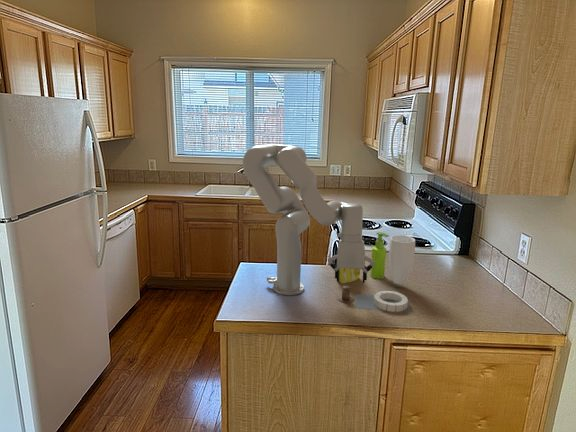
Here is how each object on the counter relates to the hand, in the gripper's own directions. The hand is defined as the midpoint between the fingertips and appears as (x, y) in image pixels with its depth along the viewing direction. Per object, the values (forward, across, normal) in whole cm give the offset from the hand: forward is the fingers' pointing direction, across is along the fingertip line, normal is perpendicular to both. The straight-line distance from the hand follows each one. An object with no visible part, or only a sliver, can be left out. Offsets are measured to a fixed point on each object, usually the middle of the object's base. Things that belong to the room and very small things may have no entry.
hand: (350, 280), depth 150 cm
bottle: (+9, -2, +19) cm, 21 cm away
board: (+9, +12, 0) cm, 15 cm away
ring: (+8, +15, 0) cm, 17 cm away
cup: (+10, +19, +17) cm, 27 cm away
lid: (+9, -2, 0) cm, 9 cm away
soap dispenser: (+9, +11, +28) cm, 32 cm away
